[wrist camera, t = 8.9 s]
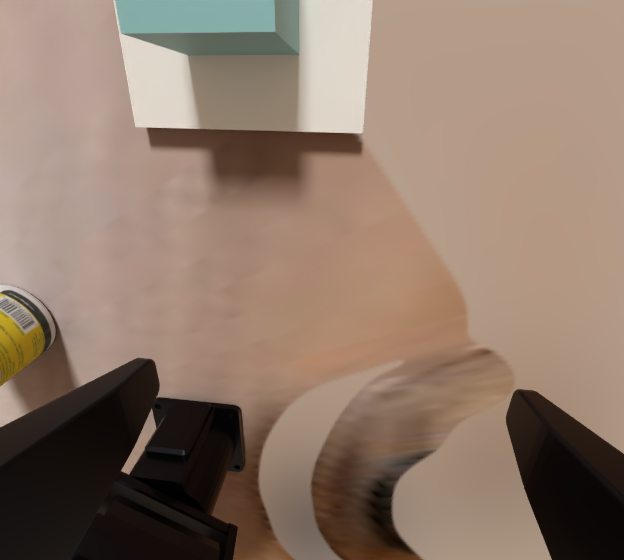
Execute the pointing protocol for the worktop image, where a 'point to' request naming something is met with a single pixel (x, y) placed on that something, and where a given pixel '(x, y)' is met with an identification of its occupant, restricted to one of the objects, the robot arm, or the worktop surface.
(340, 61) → the coaster
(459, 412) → the worktop surface
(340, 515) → the worktop surface
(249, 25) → the teal cube
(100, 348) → the worktop surface
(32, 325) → the supplement bottle
